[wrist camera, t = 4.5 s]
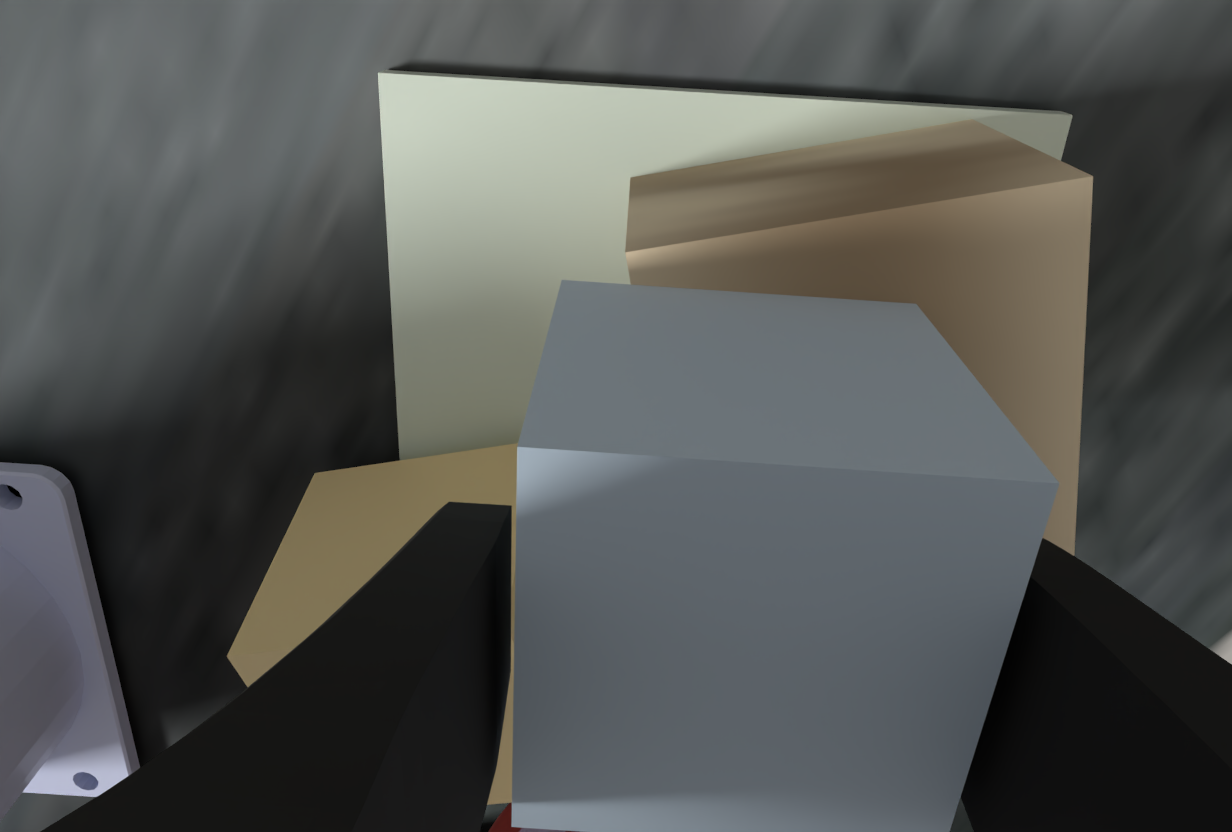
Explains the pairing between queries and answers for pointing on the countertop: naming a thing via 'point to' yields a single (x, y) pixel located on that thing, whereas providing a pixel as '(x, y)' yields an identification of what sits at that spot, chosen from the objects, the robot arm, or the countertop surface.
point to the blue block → (759, 565)
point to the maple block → (905, 256)
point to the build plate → (559, 213)
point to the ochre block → (369, 554)
